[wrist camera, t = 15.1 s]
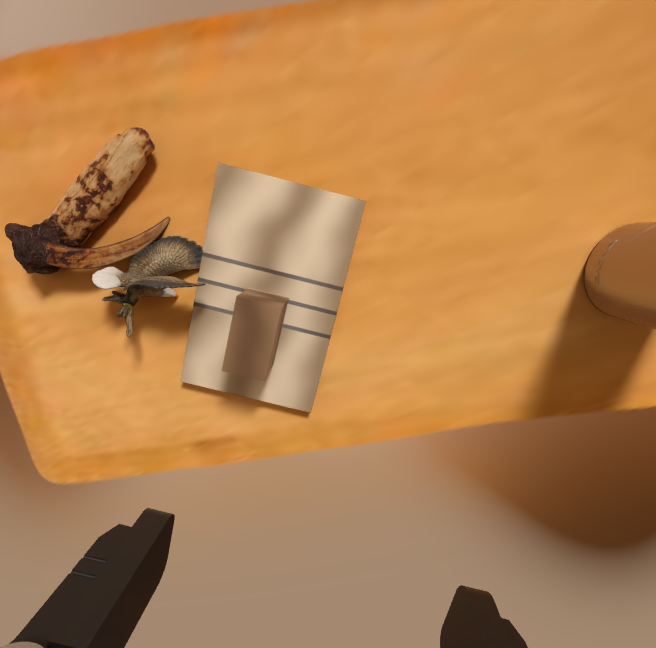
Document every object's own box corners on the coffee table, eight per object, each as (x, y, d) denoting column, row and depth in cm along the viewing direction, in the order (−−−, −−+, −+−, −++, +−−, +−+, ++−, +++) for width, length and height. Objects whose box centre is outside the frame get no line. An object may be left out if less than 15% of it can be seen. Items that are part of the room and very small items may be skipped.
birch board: (364, 202, 37) (365, 201, 36) (311, 407, 42) (310, 412, 41) (221, 164, 37) (218, 162, 35) (184, 377, 41) (180, 381, 40)
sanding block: (289, 298, 38) (281, 307, 33) (273, 363, 40) (265, 381, 35) (249, 288, 38) (236, 295, 33) (235, 354, 40) (221, 370, 35)
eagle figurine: (163, 342, 40) (225, 295, 37) (94, 333, 33) (162, 274, 30) (146, 283, 42) (202, 234, 39) (79, 264, 36) (140, 204, 33)
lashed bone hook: (92, 312, 41) (206, 189, 37) (61, 323, 36) (189, 186, 33) (19, 246, 39) (132, 111, 36) (-22, 249, 35) (102, 96, 31)
